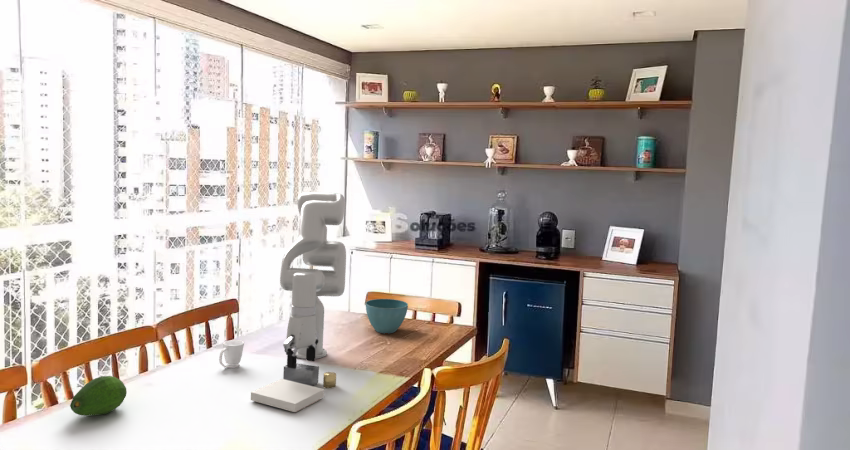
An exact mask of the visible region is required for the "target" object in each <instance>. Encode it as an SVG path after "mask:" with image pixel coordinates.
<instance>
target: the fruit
mask: <svg viewBox="0 0 850 450" xmlns="http://www.w3.org/2000/svg"><path fill="white" fill-rule="evenodd" d="M126 397H127V387H126V385H125V383H124V382H123V381H122V380H121V379H119V378H118V377H116V376H113V375H101V376H99V377H96V378H93V379H92V380H90V381H88V382H87V383H86V384H85V385H83V386H82V388H80V389H79V390H78V391H77V392H76V394H75V395H74V396H73V397H72V400H71V402H70V404H69V407H70V409H71V411H73V413H75V414H76V415H79V416H101V415H106V414H109V413H111V412H113V411H114V410H115V409H117V408H119V407H120V406H121V405H122V404H123V402H124V401H125V398H126Z"/></svg>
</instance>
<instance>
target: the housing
mask: <svg viewBox="0 0 850 450" xmlns="http://www.w3.org/2000/svg"><path fill="white" fill-rule="evenodd" d="M319 370H320V367H319V366H318V365H313V364H304V363H299V362H296V368H295V369H293V368H288V367H287V364H285V366H283V377H282V379H285V380H289V381H293V382H297V383H301V384H305V385H309V386H313V387H316V386H317V384H319V374H320V371H319Z"/></svg>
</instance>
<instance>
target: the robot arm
mask: <svg viewBox="0 0 850 450" xmlns="http://www.w3.org/2000/svg"><path fill="white" fill-rule="evenodd" d="M296 204H297V209H298V213H299V216H300V218H299V228H298V237H297V240H296V241H295V242H294V243H293V244H292V245H291V246H290V247H289V248H288V249H287V250H286V252H285V254H284V255H283V257H282V262H281V268H280V275H279V284H280V287H281V289H283V290H284V291H288V292H291V314H290V316H289V320H288V323H287V324H288V325H287V330H286V331H287V332H286V340H285V341H284V342H283V345H282V346H283V349H284V352H285V355H286V357H287V359H286V365H287V367H288V368H293V369H295V368H296V363H298V362H297V360H298V359H302V360H306V361H308V362H315V361H316V359H322V358H324V357H326V355H327V353H328V351H327V349H325V348H324V347H323V346H324V329H325V328H324V326H325V325H324V323H325V306H324V304H323V302H322V301H321V299H320V298H319V297H341V296H342V295H343V294H344V292H345V287H346V268H347V249H346V246H345V244H344V243H343V242H341V241H337V240H336V241H335V240H328V239H327V236H328V227H327V226H339V225H341V224H342V222H343V219H344V218H345V217H344V216H345V212H346V211H345V210H346V199H345V196H344V195H343V194H342V193H337V192H336V193H335V192H321V191H320V192H319V191H306V192H302V193H300V194H298V197H297V201H296ZM301 255H302V261H303V264H305V265H306V266H311V267H325V268H326V267H327V268H328V267H330V268H332V269H333V270H331V269H329V270H328V269H318V268H305V267H304V268H303V267H300V268H299V267H291V265H292V262H293V261H294V260H295V259H296V258H297V257H299V256H301Z"/></svg>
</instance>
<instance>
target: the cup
mask: <svg viewBox="0 0 850 450" xmlns="http://www.w3.org/2000/svg"><path fill="white" fill-rule="evenodd" d="M244 346H245V342H244V341H243V340H240V339H239V340H238V339H232V340H231V339H230V340H225V341H224V342H223V343H222V347H223V348H222V349H221V351H220V353H219V359H218V360H219V364H220V365H221V366H222V367H224V368H227V369H229V368H231V369H235V368H238V367H240V362H241V360H242V357H243V351H244ZM223 354H224V361H225V363H226V365H225V364H224V363H223V360H222V359H223Z"/></svg>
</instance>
